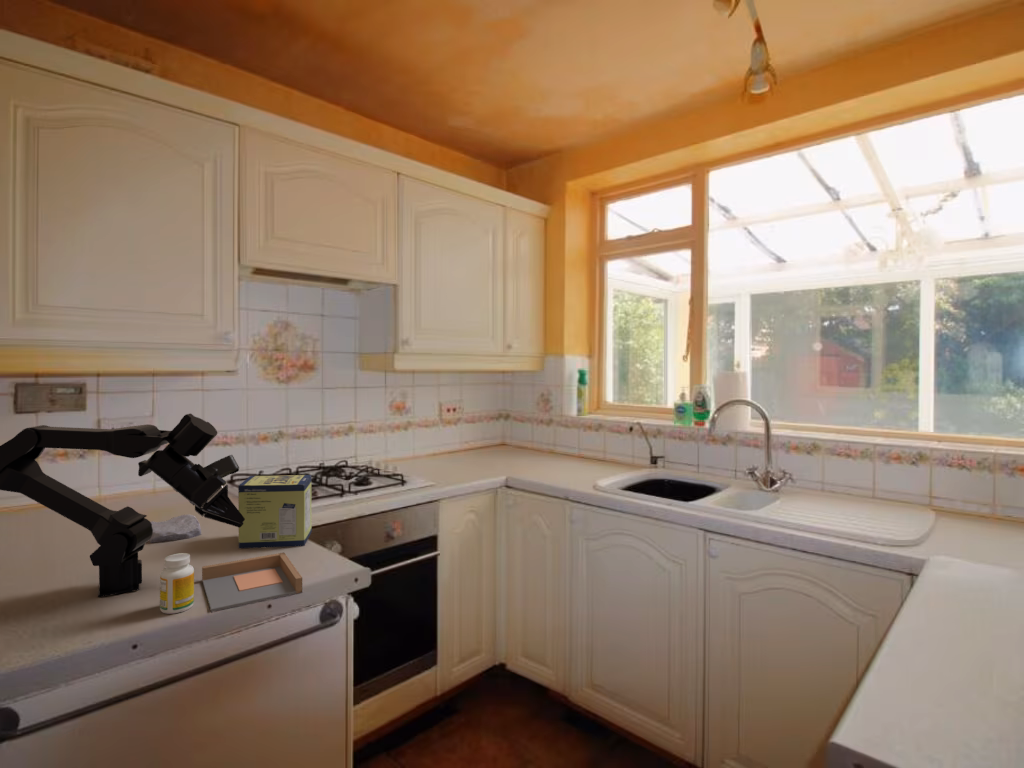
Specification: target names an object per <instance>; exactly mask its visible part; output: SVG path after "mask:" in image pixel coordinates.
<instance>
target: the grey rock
mask: <svg viewBox="0 0 1024 768" xmlns="http://www.w3.org/2000/svg"><path fill="white" fill-rule="evenodd" d="M150 522H151V524H152V529H153V534H152V537H151V538H150V540H149V541H148V542H149V543H159V542H160V543H161V542H162V543H163V542H169V541H179V540H185V539H191V538H194V537H198V536H201V535H202V528H201V524H200V522H199V520H198V518H197V517H196V516H195V515H194V514H189V513H188V514H181V515H178V516H175V517H172V518H170V519H168V520H164V521H163V520H162V521H153V520H152V521H150Z"/></svg>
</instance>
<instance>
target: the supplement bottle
mask: <svg viewBox="0 0 1024 768" xmlns="http://www.w3.org/2000/svg"><path fill="white" fill-rule="evenodd" d="M190 562H191V555H190V553H186V552H180V553H174V554H170V555H168V556H166V557H165V558H164V563H163V564H164V567H165V568H163V569H162V570H161V572H160V574H159V575H160V576H159V610H160V611H161V613H163V614H166V615H167V614H168V615H169V614H179V613H182V612H185V611H188V610H190V609H191V608H192V607H193V606H194V605H195V604H194V603H195V568H194V567H193V565H191V564H190Z"/></svg>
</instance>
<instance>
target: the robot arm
mask: <svg viewBox="0 0 1024 768" xmlns="http://www.w3.org/2000/svg"><path fill="white" fill-rule="evenodd" d="M217 436H218V431H217V429H216V427H215V426H214V425H213V424H211V423H210V422H208V421H206V420H204V419H202V418H200V417H197V416H195V415H194V414H192V413H186V414H184V415H183V416H182V418H181V419H180V421H179V422H178V423H177V425H176V426H174V428H172V430H165V429H164V430H163V429H159V428H158V427H157V426H155V425H153V424H140V425H133V426H125V427H119V428H92V427H91V428H89V427H66V426H64V427H63V426H50V425H46V424H44V425H43V424H41V425H35V426H31V427H26V428H23V429H22V430H21V431H20V432H18V433H17V434H16V435H15V436H14V437H12V438H11V439H9V440H8V441H6V442H4V443H2V444H1V445H0V491H2V492H3V491H4V492H11V493H18V494H21V495H23V496H25V497H27V498H29V499H30V500H33V501H34V502H36V503H39V504H40V505H42V506H44V507H46V508H47V509H50V510H51V511H53V512H55V513H57V514H59V515H60V516H63V518H66V519H68V520H70V521H72V522H74V523H76V524H77V525H78V526H81V527H83V528H84V529H86V530H88V531H89V532H90V533H91V534H92V536H93V538H94V540H95V542H96V544H98V545H99V546H98V547H97V548H96V549H95V550H94V551H93V552H92V553H91V554H90V555H89V560H90V561H91V563H92V565H93V566H94V567H98V593H97V597H98V598H102V597H108V596H113V595H119V594H124V593H130V592H136V591H139V590H140V585H141V584H142V583H143V560H142V559H139V552H141V551H142V550H144V547H145V545H146V543H147V542H149V540H150V538H151V537H152V534H153V529H152V524H151V522H152V521H150V520H149V519H147V518H146V517H147V516H148V515H147V514H142V513H140V512H138V511H136V510H135V509H134V508H132V507H131V506H128V505H127V506H126V507H123V508H121V509H119V510H113V509H109V508H108V507H106V506H104V505H102V504H101V503H99V502H97V501H95V500H93V499H91V498H89V497H88V496H86V495H84V494H82V493H81V492H78V491H77V490H75V489H73V488H71V487H69V486H67V485H66V484H64V483H62V482H61V481H59V480H56V479H54V478H53V477H51V476H50V475H47V474H46V473H44V472H43V470H42V468H41V467H40V464H39V463H38V461H37V459H39V457H40V456H41V455H42V454H43V452H44V451H45V449H63V450H65V449H66V450H67V449H68V450H87V451H88V450H90V451H91V450H92V451H93V450H94V451H95V450H96V451H102V452H106V453H109V454H111V455H114V456H118V457H124V458H129V459H136V458H139V457H143V456H146V455H148V454H151V453H152V454H151V456H149V458H148V459H147V460H146V459H144V460H142V461H139V462H138V477H143V476H145V475H148V474H151V472H152V473H154V474H155V475H156V476H158V477H159V478H160V479H161V480H162V481H164V482H165V483H166V484H167V485H169V486H170V488H172V490H174V491H175V492H176V493H179V494H180V495H181V496H182V497H184V498H185V500H187V501H188V502H189V503H190V505H192V506H194V511H195V512H196V513H197V514H198V515H199V516H201V517H204V518H205V519H209V520H212V521H216V522H219V523H223V524H227V525H229V526H233V527H237V528H238V529H239V528H240V527H241V526H242V525H243V524H244V523H243V521H244V520H245V518H244V517H243V516H242V514H241V513H240V512H239V508H237V506H236V505H235V503H233V501H232V500H231V499H230V497H229V485H228V484H227V481H226V480H225V479H223V478H225V477H228V476H229V475H234V474H236V473H237V472H239V471H240V466H239V464H238V463H237V461H236V459H235V456H234V455H233V454H229V455H227V456H225V457H223V458H220V459H218V460H215V461H214V462H211V463H210V464H208V465H205V466H204V467H203V466H202V465H201V464H200V463H198V464H197V463H194V462H192V460H190V459H189V458H188V457H190V456H192V457H196V456H198V455H199V454H201V452H202V451H203V450H204V449H205V448H206V446H208V445H209V444H210V443H211V442H212V441H213V439H215V438H216V437H217ZM164 445H166V446H165V447H164V448H163V449H161V447H162V446H164ZM223 486H224V487H223Z"/></svg>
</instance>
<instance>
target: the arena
mask: <svg viewBox="0 0 1024 768" xmlns="http://www.w3.org/2000/svg"><path fill="white" fill-rule="evenodd" d="M201 581H202V585H203V588H204V592H205V595H206V599H207V602H208V605H209V608H210V612H211V613H212V612H217V611H221V610H227V609H230V608H231V609H232V608H237V607H240V606H245V605H246V606H247V605H250V604H254V603H258V602H264V601H267V600H274V599H279V598H283V597H286V596H291V595H297V594H301V593H303V576H302V575H301V574H300V573H299V571H298V570H297V568H296V567H295V565H294V564H293V563H292V561H291V560H290V558H289V557H288V555H286V553H285V552H280V553H279V552H278V553H273V554H267V555H260V556H256V557H255V556H254V557H250V558H244V559H238V560H231V561H227V562H220V563H214V564H209V565H203V566H201Z"/></svg>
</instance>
